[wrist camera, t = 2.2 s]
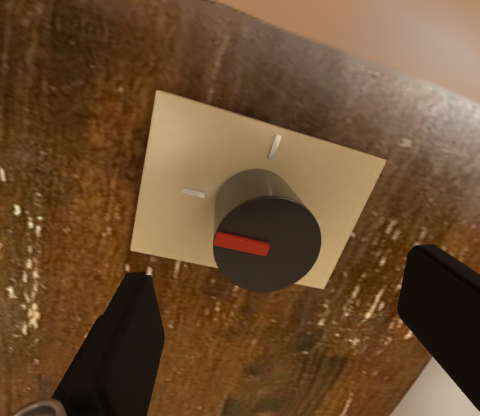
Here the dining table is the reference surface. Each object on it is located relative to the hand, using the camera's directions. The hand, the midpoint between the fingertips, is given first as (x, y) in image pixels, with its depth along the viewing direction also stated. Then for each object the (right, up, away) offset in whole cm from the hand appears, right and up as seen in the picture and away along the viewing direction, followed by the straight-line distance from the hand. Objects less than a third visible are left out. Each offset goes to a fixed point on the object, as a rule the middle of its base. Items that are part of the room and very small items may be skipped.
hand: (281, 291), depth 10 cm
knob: (-1, +3, +7) cm, 8 cm away
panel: (-1, +4, +10) cm, 11 cm away
